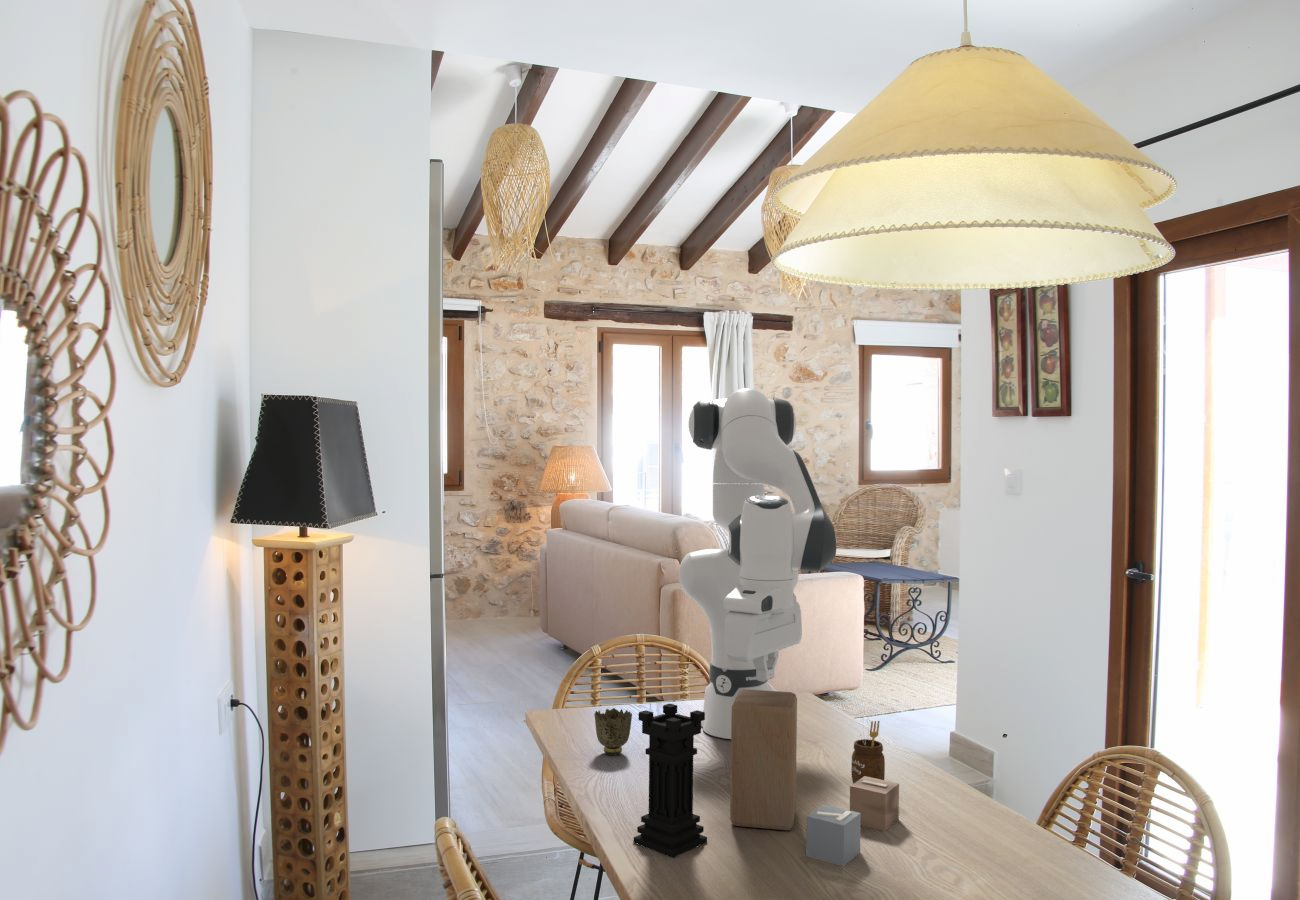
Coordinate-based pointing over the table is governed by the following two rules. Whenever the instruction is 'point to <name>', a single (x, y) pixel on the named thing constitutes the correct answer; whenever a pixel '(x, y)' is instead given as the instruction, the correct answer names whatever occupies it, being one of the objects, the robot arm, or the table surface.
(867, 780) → the walnut numbered cube
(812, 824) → the slate numbered cube
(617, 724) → the cup
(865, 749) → the utensil holder
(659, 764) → the chess piece
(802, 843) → the table surface
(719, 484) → the robot arm
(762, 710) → the block
